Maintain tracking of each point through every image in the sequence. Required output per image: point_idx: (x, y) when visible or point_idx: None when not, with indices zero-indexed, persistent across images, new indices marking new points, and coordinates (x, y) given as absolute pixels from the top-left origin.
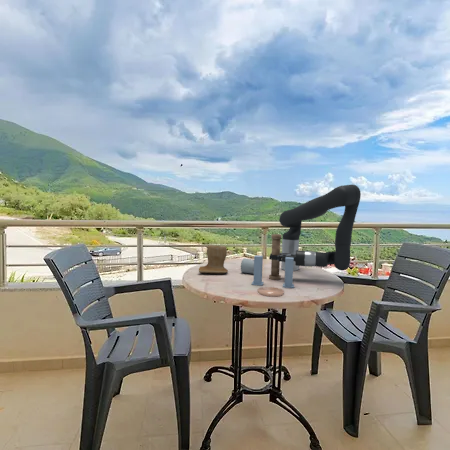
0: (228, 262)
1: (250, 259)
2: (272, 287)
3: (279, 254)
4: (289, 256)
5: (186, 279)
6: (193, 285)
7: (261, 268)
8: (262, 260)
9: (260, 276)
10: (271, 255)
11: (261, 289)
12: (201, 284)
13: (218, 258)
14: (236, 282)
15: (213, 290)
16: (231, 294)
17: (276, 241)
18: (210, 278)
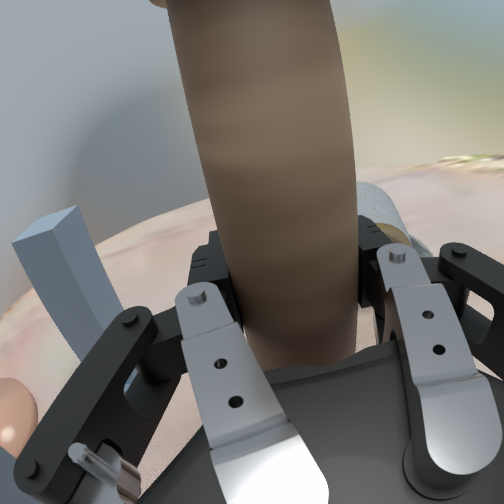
0: (459, 183)
1: (368, 199)
2: (20, 433)
3: (273, 282)
4: (155, 494)
5: (165, 213)
6: (105, 242)
7: (50, 314)
8: (59, 265)
9: (77, 351)
10: (209, 242)
11: (4, 390)
12: (114, 247)
13: None
14: (144, 297)
15: None
16: (12, 325)
17: (172, 31)
18: (190, 232)
